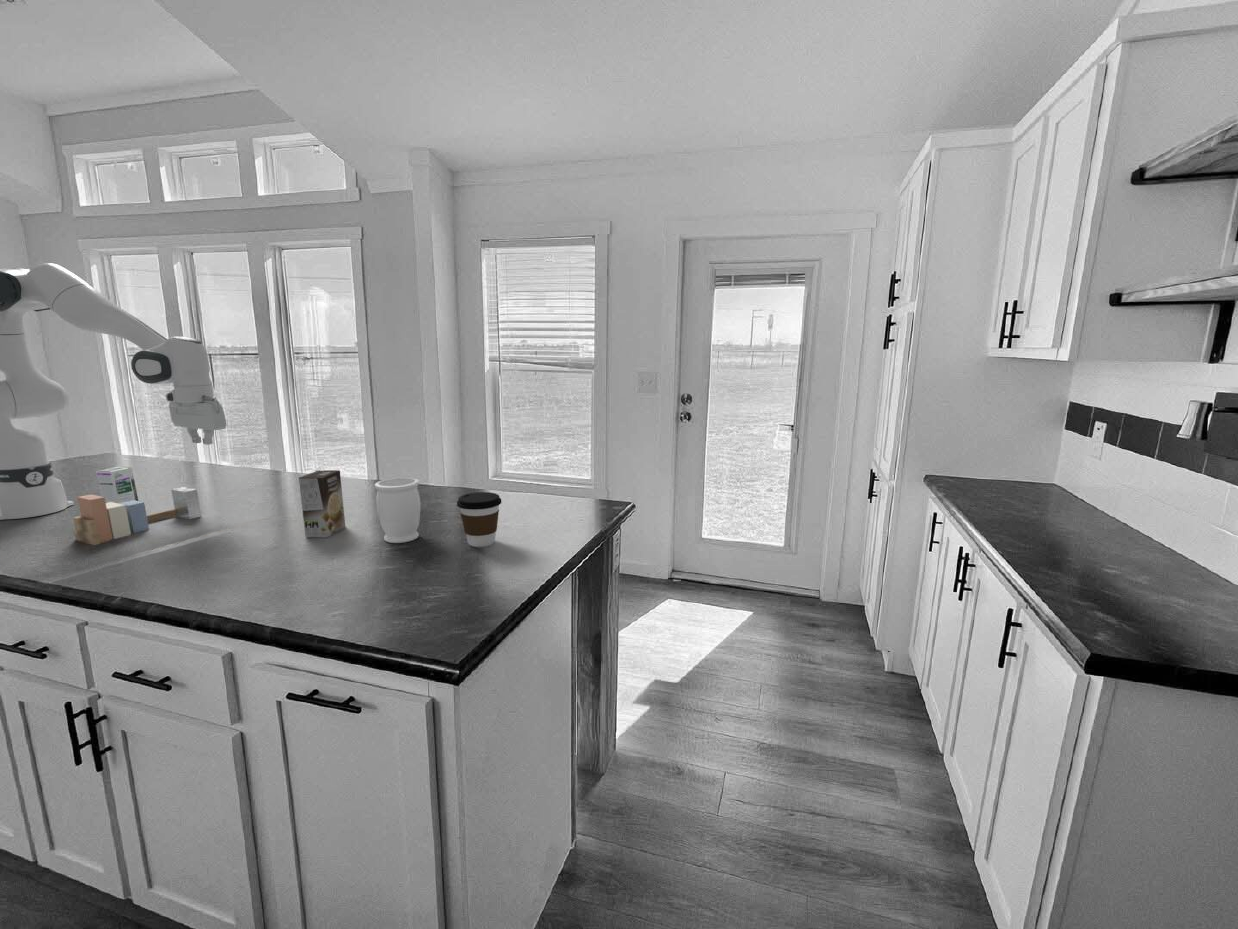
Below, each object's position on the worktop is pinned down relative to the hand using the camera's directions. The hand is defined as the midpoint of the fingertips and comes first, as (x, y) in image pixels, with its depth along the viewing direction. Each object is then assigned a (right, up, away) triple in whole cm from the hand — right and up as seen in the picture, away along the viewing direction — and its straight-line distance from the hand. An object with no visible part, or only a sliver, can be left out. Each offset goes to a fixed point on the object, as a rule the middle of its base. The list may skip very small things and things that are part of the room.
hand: (202, 443), depth 165 cm
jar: (+63, -25, -16) cm, 70 cm away
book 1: (-12, -25, -20) cm, 34 cm away
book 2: (-10, -24, -17) cm, 31 cm away
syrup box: (-24, -22, +2) cm, 32 cm away
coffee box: (+41, -24, -11) cm, 49 cm away
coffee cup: (+85, -26, -20) cm, 91 cm away
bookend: (-3, -21, -2) cm, 21 cm away
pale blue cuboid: (-8, -23, -13) cm, 28 cm away
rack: (-8, -24, -11) cm, 27 cm away
